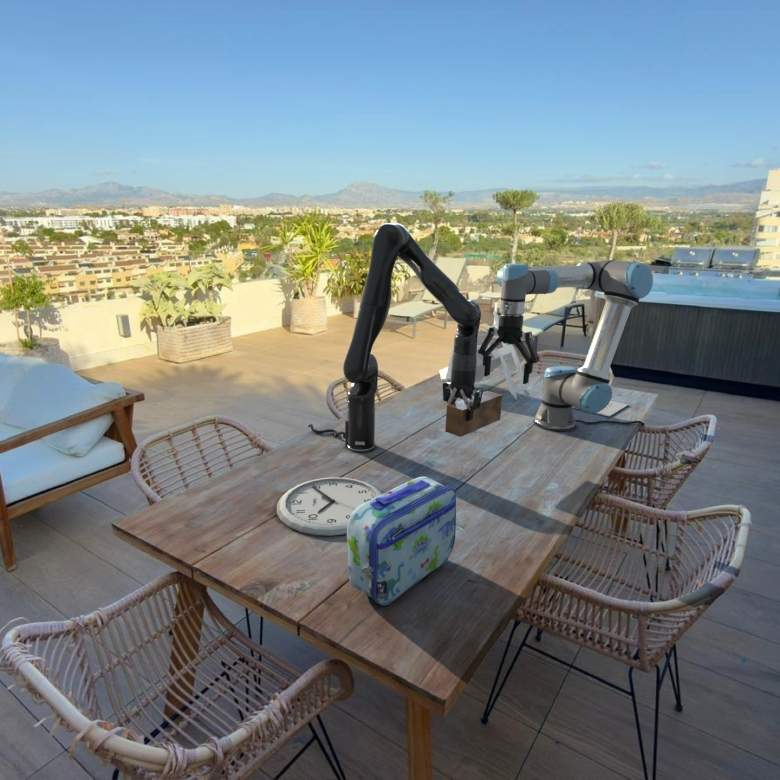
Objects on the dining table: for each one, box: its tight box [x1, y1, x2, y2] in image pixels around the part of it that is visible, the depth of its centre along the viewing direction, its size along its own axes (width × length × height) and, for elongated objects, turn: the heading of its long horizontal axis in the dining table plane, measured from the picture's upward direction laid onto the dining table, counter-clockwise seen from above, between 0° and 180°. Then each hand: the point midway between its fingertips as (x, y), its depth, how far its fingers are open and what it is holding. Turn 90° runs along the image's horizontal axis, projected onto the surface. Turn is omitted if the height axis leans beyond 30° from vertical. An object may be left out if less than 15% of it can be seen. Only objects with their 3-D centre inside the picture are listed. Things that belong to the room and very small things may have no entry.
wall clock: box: [276, 476, 384, 537], centre depth 142 cm, size 30×2×30 cm
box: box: [444, 390, 503, 438], centre depth 170 cm, size 22×6×9 cm, turn 136°
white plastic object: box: [438, 310, 531, 400], centre depth 245 cm, size 37×45×31 cm
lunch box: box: [346, 475, 457, 607], centre depth 111 cm, size 26×11×21 cm, turn 134°
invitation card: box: [573, 400, 629, 418], centre depth 226 cm, size 21×1×15 cm
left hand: (460, 417), depth 165 cm, fingers closed on box, 6 cm apart
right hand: (505, 379), depth 170 cm, fingers open, 13 cm apart
